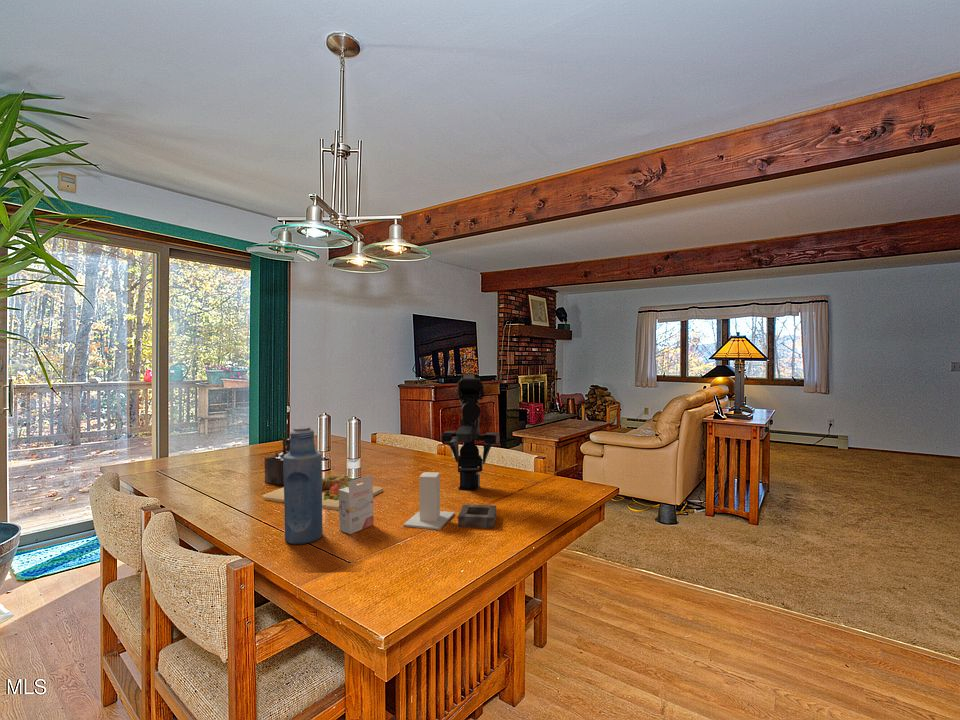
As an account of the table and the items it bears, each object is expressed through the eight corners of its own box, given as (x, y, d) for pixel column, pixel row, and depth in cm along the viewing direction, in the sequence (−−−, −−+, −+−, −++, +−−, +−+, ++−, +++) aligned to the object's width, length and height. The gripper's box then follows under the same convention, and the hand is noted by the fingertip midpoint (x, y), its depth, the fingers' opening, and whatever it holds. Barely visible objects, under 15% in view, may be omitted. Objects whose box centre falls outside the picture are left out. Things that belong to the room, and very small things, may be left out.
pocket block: (458, 526, 133) (458, 516, 133) (463, 514, 143) (463, 504, 143) (493, 528, 132) (493, 517, 132) (496, 515, 142) (496, 505, 142)
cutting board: (385, 491, 168) (384, 471, 168) (344, 513, 146) (344, 489, 146) (307, 482, 180) (306, 463, 180) (259, 501, 158) (258, 479, 158)
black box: (262, 482, 178) (261, 435, 178) (286, 475, 188) (286, 431, 188) (289, 488, 171) (288, 439, 170) (313, 480, 180) (313, 434, 180)
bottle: (327, 530, 131) (326, 424, 130) (316, 545, 121) (314, 430, 120) (292, 531, 130) (291, 424, 130) (278, 546, 120) (277, 430, 120)
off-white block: (419, 520, 136) (419, 476, 136) (423, 514, 141) (423, 472, 141) (436, 521, 135) (436, 477, 135) (439, 515, 140) (439, 472, 140)
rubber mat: (403, 526, 133) (403, 524, 133) (421, 511, 146) (421, 509, 146) (439, 530, 131) (439, 527, 131) (454, 514, 143) (454, 512, 143)
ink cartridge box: (362, 521, 137) (362, 472, 137) (374, 525, 134) (373, 474, 134) (338, 530, 131) (337, 478, 130) (349, 534, 128) (348, 481, 127)
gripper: (435, 418, 149) (435, 467, 149) (491, 420, 144) (492, 470, 144) (446, 413, 160) (447, 459, 160) (499, 415, 155) (500, 462, 155)
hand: (470, 462), depth 154 cm, fingers open, 9 cm apart
